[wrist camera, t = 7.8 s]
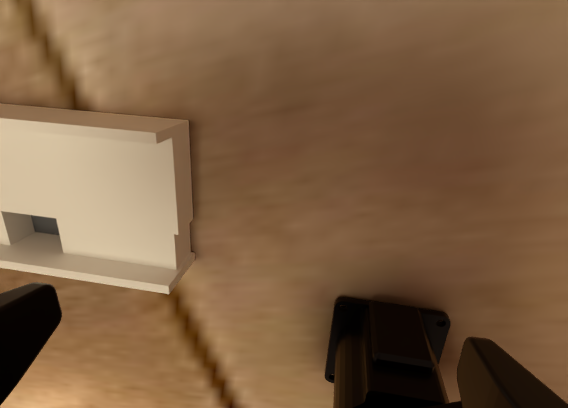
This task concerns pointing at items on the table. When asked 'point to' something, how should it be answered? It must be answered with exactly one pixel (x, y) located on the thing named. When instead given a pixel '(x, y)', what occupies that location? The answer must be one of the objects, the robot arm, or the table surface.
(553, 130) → the table surface
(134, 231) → the tray
